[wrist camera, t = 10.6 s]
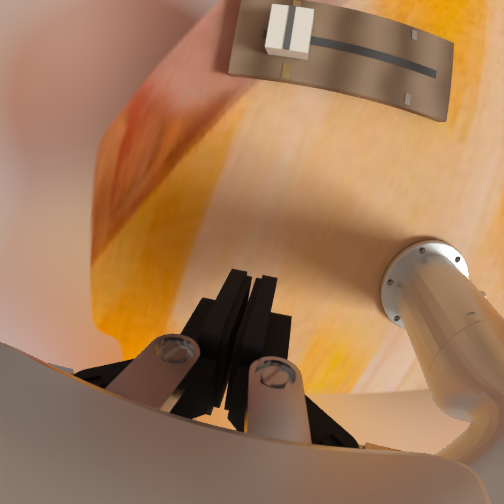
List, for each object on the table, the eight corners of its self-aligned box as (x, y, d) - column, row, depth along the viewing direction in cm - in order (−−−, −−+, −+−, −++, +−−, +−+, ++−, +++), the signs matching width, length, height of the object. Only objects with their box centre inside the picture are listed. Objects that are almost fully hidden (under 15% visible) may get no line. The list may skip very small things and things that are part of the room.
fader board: (446, 47, 25) (454, 43, 23) (439, 122, 28) (446, 121, 27) (245, 1, 27) (242, -6, 25) (232, 76, 31) (227, 73, 29)
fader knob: (313, 19, 25) (314, 8, 22) (307, 60, 27) (307, 52, 24) (275, 14, 25) (271, 3, 22) (268, 54, 27) (264, 46, 24)
